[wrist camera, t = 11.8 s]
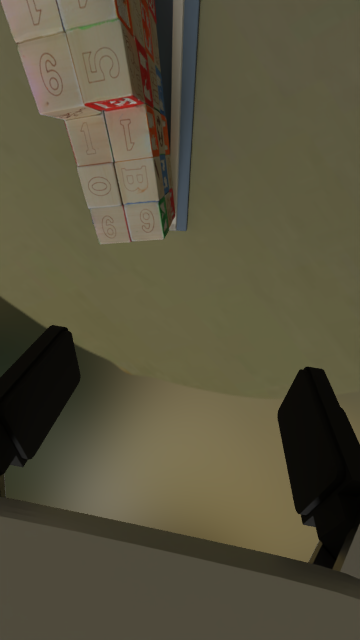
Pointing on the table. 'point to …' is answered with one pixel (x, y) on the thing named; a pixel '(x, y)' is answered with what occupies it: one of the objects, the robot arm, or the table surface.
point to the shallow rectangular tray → (178, 91)
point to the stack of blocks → (104, 105)
